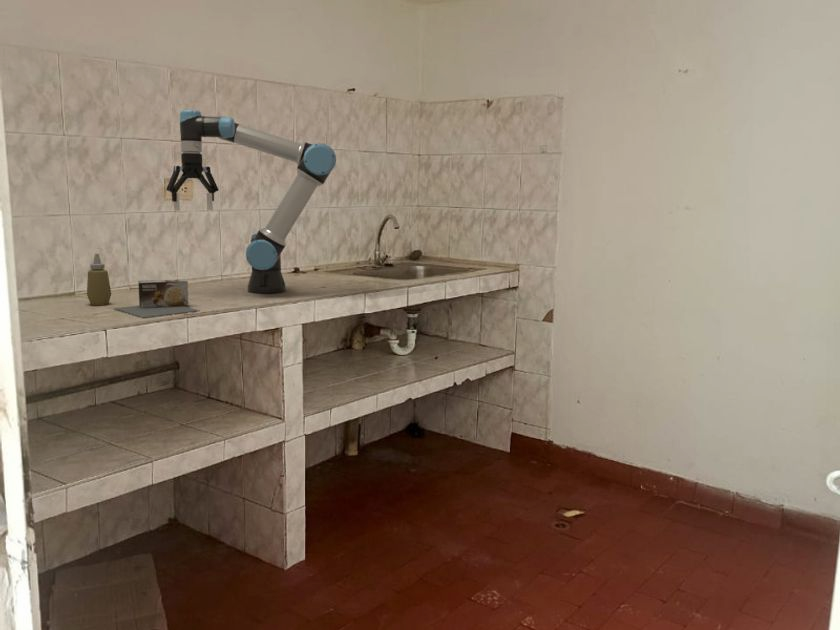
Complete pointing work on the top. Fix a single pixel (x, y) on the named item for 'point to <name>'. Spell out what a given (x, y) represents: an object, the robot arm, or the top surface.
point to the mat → (155, 311)
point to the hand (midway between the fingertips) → (193, 210)
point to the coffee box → (163, 293)
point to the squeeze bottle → (98, 283)
